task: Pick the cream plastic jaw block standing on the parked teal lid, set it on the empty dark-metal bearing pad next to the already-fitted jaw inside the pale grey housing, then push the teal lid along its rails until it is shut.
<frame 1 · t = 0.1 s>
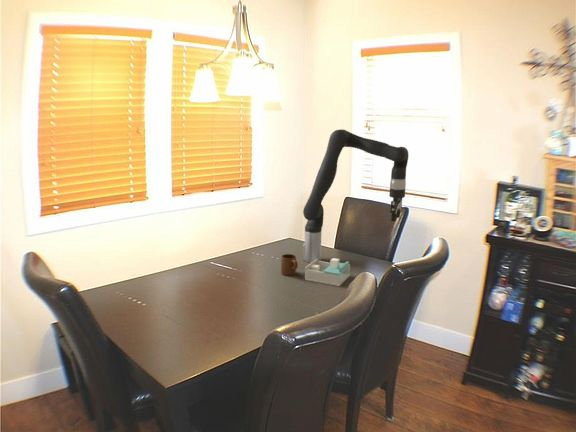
hand: (395, 219, 225), 29 cm above the table, fingers open, 8 cm apart
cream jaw: (334, 267, 223), point 6 cm above the table, touching teal lid
teal lid: (337, 266, 222), point 7 cm above the table, slide at 8.8 cm, touching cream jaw
mug: (290, 275, 229), on the table
grey housing: (327, 277, 226), on the table
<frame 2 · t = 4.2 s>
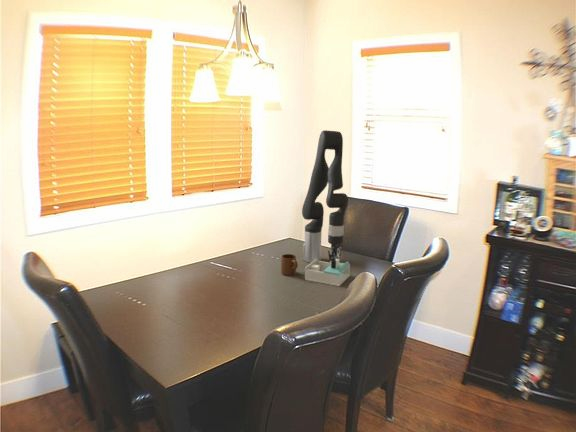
hand: (334, 266, 222), 7 cm above the table, fingers closed on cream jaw, 3 cm apart
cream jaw: (334, 267, 223), point 6 cm above the table, touching gripper, teal lid
everything else where it was.
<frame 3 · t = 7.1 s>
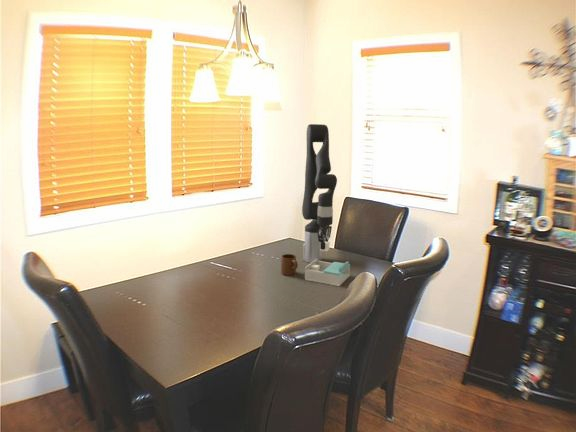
hand: (324, 247, 223), 15 cm above the table, fingers closed on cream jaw, 3 cm apart
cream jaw: (324, 249, 223), point 14 cm above the table, touching gripper
teal lid: (337, 266, 222), point 7 cm above the table, slide at 8.8 cm
everything else where it was.
when the fingers open (3 cm above the table, at t = 10.0 s): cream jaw stays where it is, resting on grey housing.
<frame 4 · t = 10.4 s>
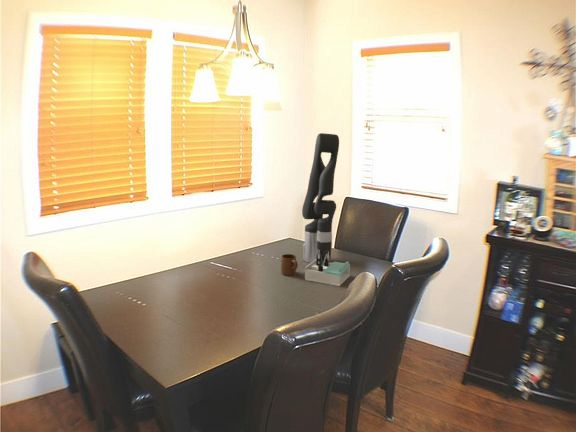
hand: (323, 270, 226), 3 cm above the table, fingers open, 7 cm apart
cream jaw: (323, 274, 226), point 1 cm above the table, touching grey housing
everything else where it was.
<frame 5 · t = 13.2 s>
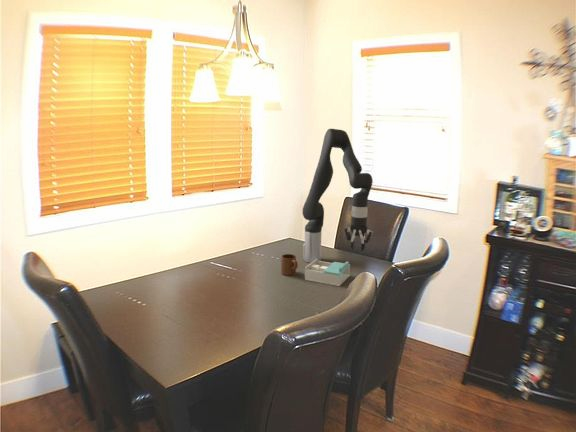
hand: (357, 249, 215), 17 cm above the table, fingers open, 4 cm apart
nothing on the table moved.
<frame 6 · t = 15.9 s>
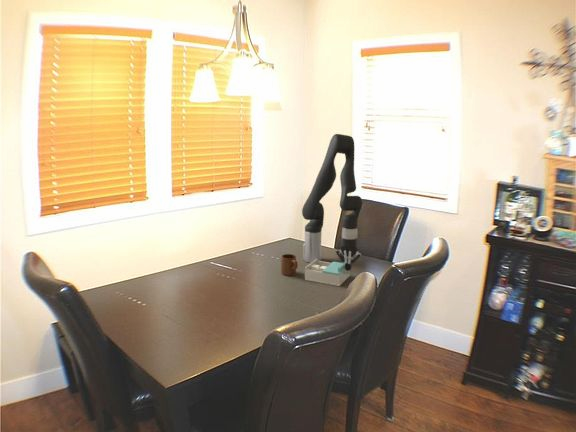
hand: (347, 270, 220), 6 cm above the table, fingers closed
teal lid: (336, 266, 222), point 7 cm above the table, slide at 8.2 cm, touching gripper
everything else where it was.
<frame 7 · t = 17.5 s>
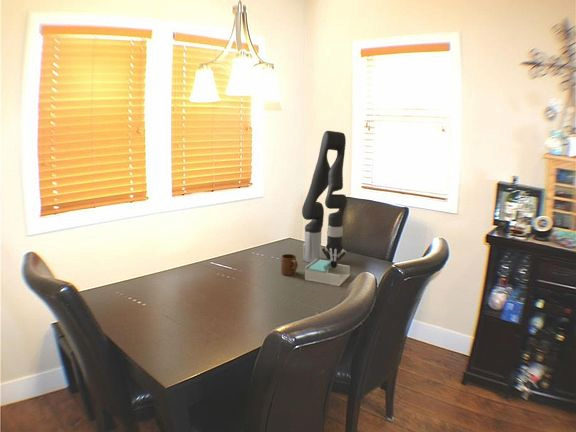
hand: (333, 267, 223), 6 cm above the table, fingers closed
teal lid: (322, 263, 225), point 7 cm above the table, slide at 0.9 cm, touching gripper
everything else where it was.
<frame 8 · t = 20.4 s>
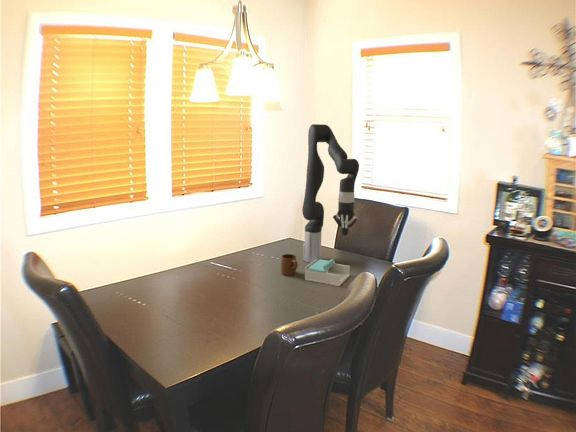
hand: (345, 235, 219), 23 cm above the table, fingers closed
teal lid: (322, 263, 225), point 7 cm above the table, slide at 0.7 cm
everything else where it was.
at the end: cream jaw 0.2 cm from the target spot on the grey housing, point 1.2 cm above the grey housing's base; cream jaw tilted 0°; teal lid slide at 0.7 cm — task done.
